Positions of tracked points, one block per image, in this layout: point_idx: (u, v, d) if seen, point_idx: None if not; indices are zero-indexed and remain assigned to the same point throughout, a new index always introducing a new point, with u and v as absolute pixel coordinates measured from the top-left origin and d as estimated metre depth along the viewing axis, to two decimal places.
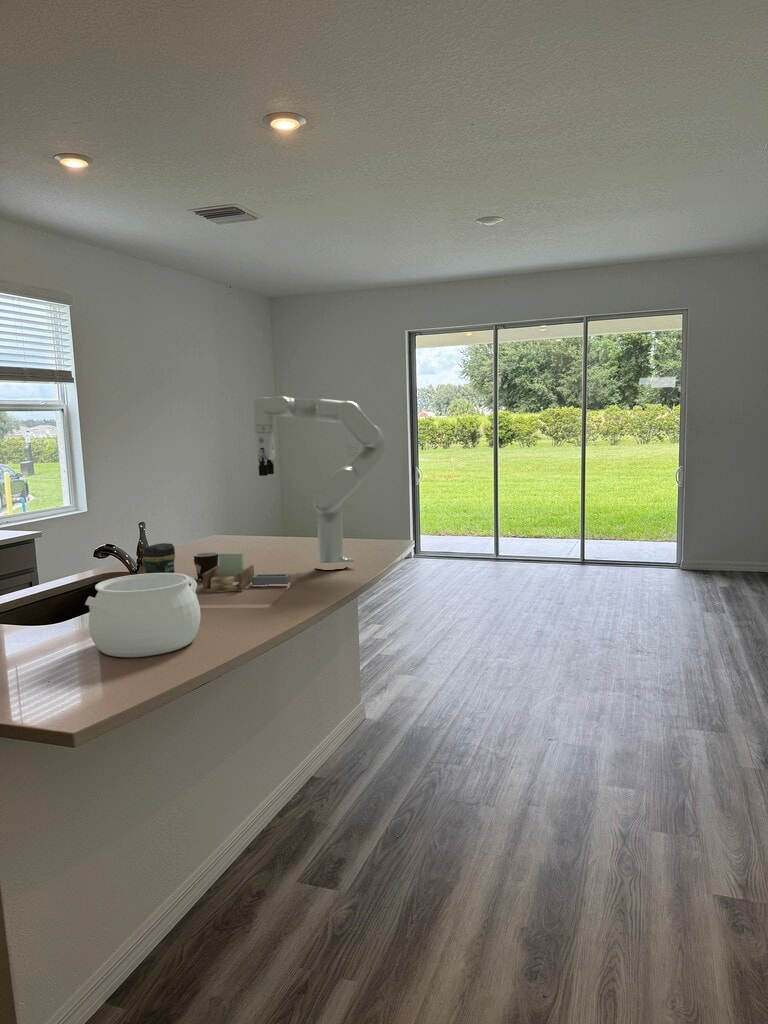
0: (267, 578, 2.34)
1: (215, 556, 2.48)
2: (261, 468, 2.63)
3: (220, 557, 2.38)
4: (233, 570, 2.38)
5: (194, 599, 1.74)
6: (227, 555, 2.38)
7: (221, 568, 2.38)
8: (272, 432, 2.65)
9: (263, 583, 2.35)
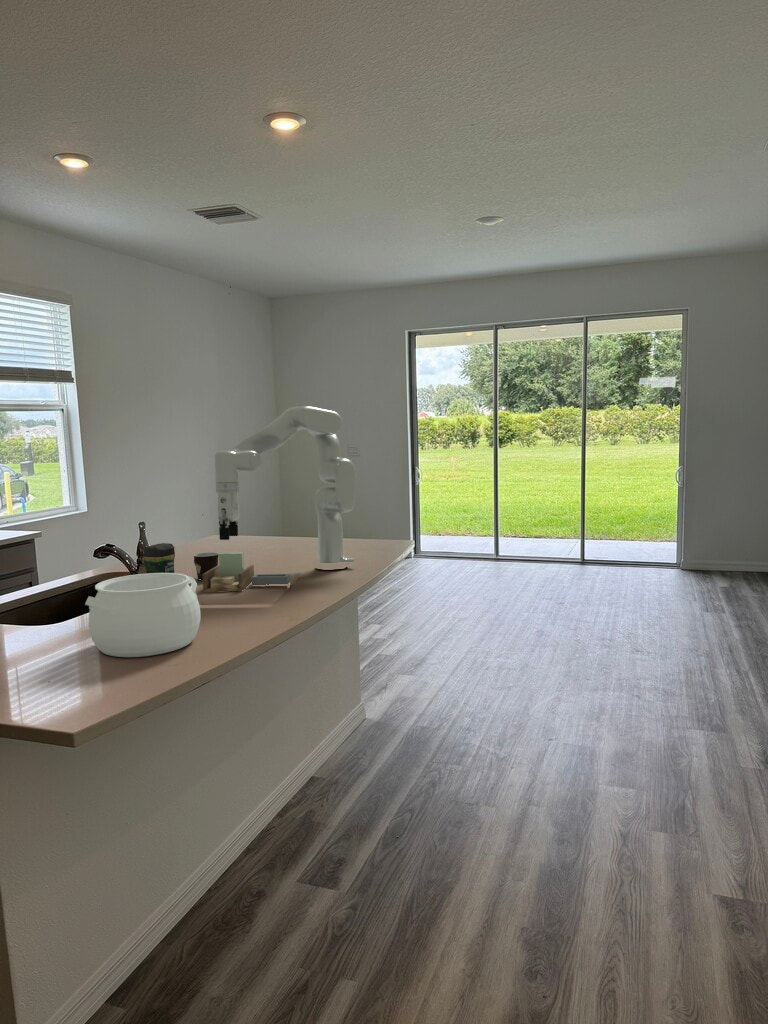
0: (267, 578, 2.34)
1: (215, 556, 2.48)
2: (222, 531, 2.32)
3: (220, 557, 2.38)
4: (233, 570, 2.38)
5: (194, 599, 1.74)
6: (227, 555, 2.38)
7: (221, 568, 2.38)
8: (235, 490, 2.34)
9: (263, 583, 2.35)
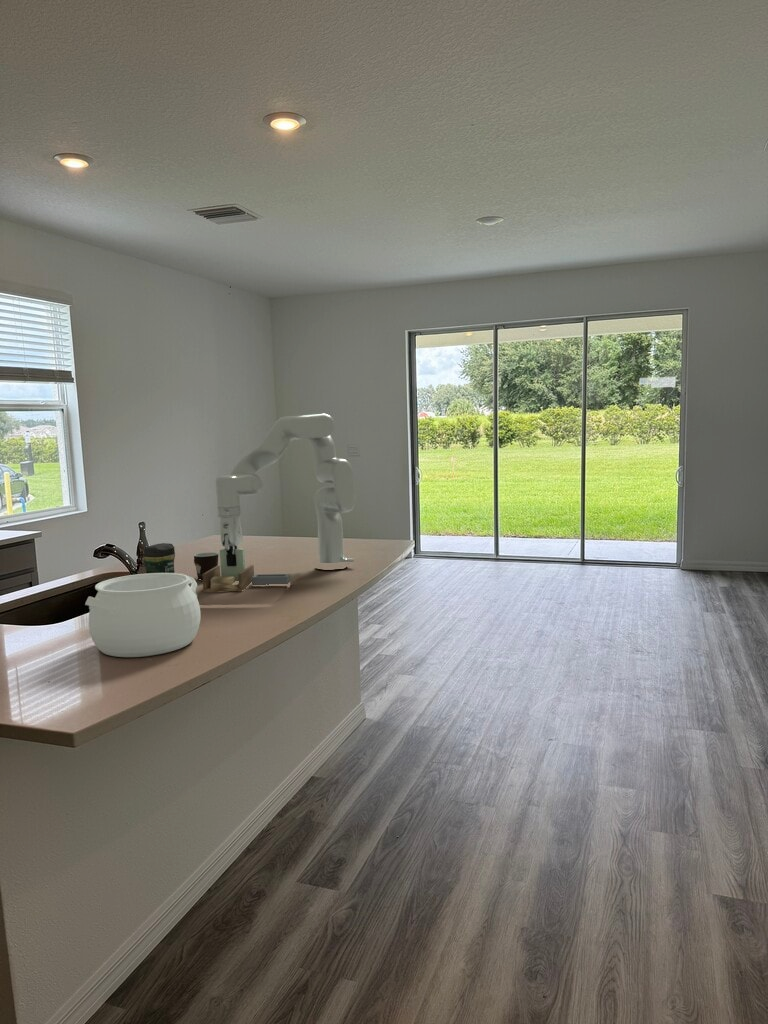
0: (267, 578, 2.34)
1: (215, 556, 2.48)
2: (229, 558, 2.37)
3: (221, 553, 2.38)
4: (234, 566, 2.38)
5: (194, 599, 1.74)
6: None
7: (222, 564, 2.39)
8: (237, 515, 2.36)
9: (263, 583, 2.35)
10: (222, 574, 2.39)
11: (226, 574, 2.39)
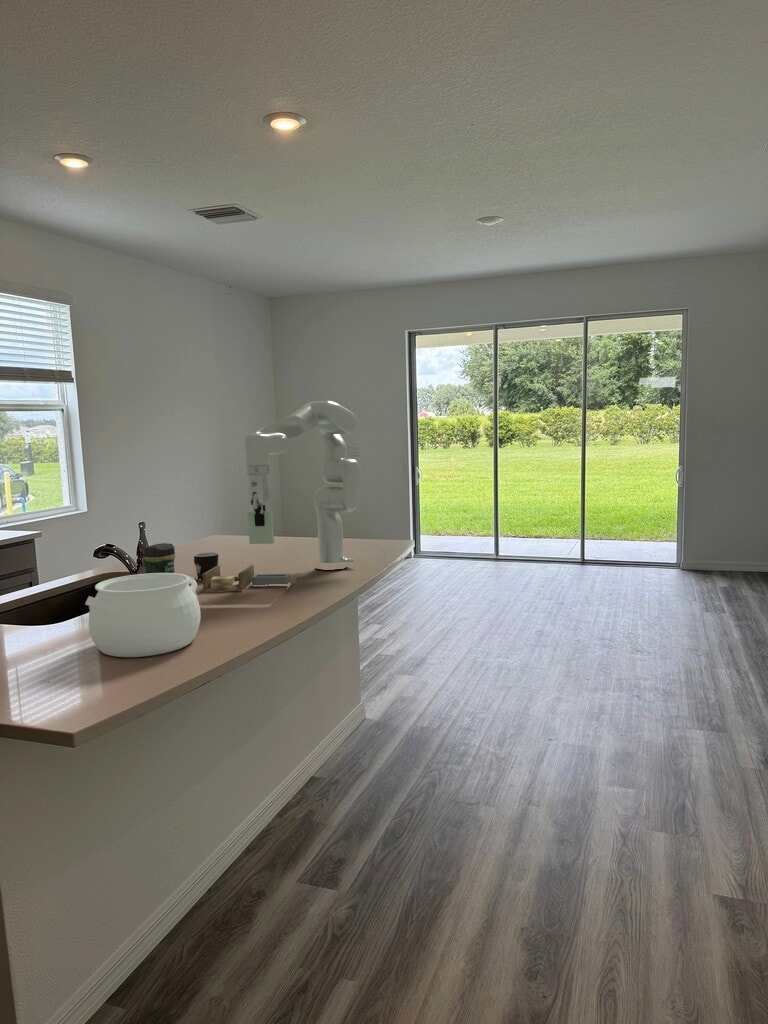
0: (267, 578, 2.34)
1: (215, 556, 2.48)
2: (257, 518, 2.33)
3: (249, 515, 2.35)
4: (262, 528, 2.35)
5: (194, 599, 1.74)
6: None
7: (250, 526, 2.35)
8: (266, 473, 2.32)
9: (263, 583, 2.35)
10: (250, 536, 2.36)
11: (254, 536, 2.35)
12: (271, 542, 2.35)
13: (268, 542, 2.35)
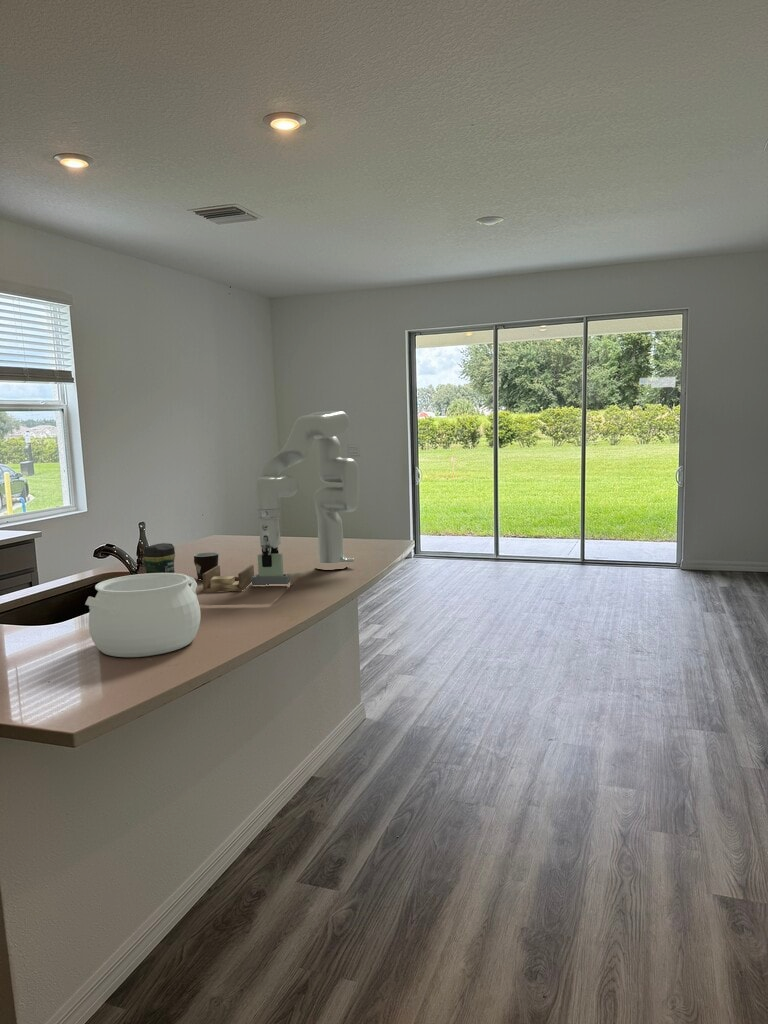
0: (267, 578, 2.34)
1: (215, 556, 2.48)
2: (264, 559, 2.30)
3: (259, 558, 2.35)
4: (272, 571, 2.35)
5: (194, 599, 1.74)
6: None
7: (260, 569, 2.36)
8: (277, 517, 2.33)
9: (263, 583, 2.35)
10: None
11: None
12: None
13: None
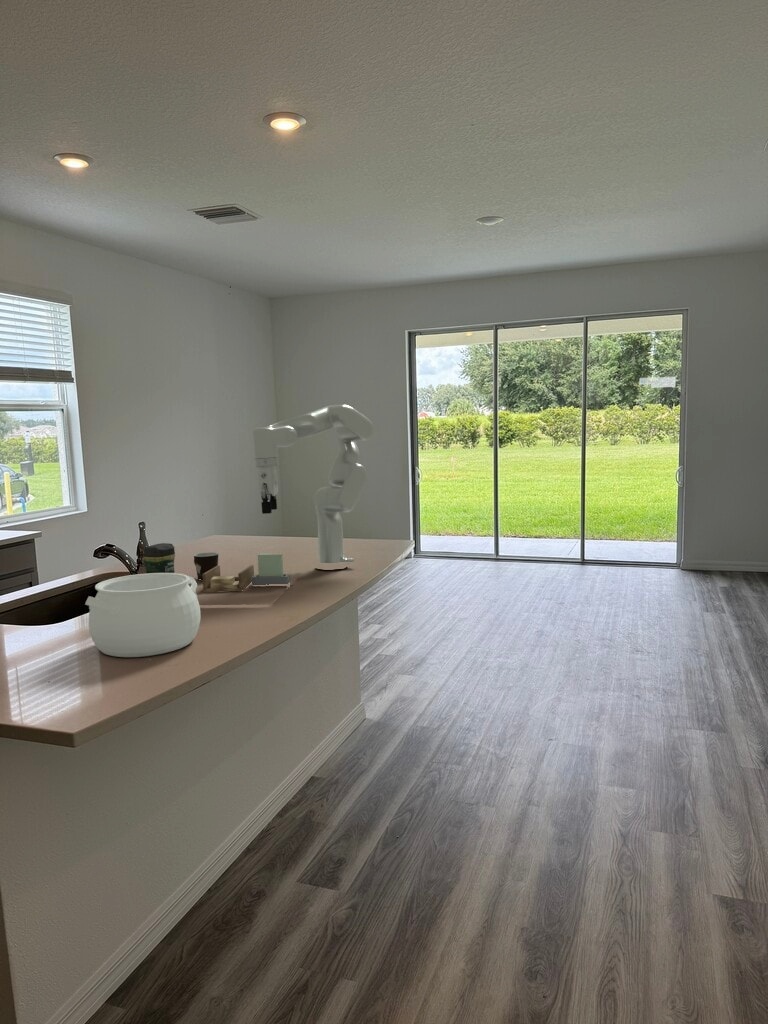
0: (267, 578, 2.34)
1: (215, 556, 2.48)
2: (264, 505, 2.40)
3: (259, 558, 2.35)
4: (272, 571, 2.35)
5: (194, 599, 1.74)
6: (266, 556, 2.35)
7: (260, 569, 2.36)
8: (275, 465, 2.42)
9: (263, 583, 2.35)
10: None
11: None
12: None
13: None
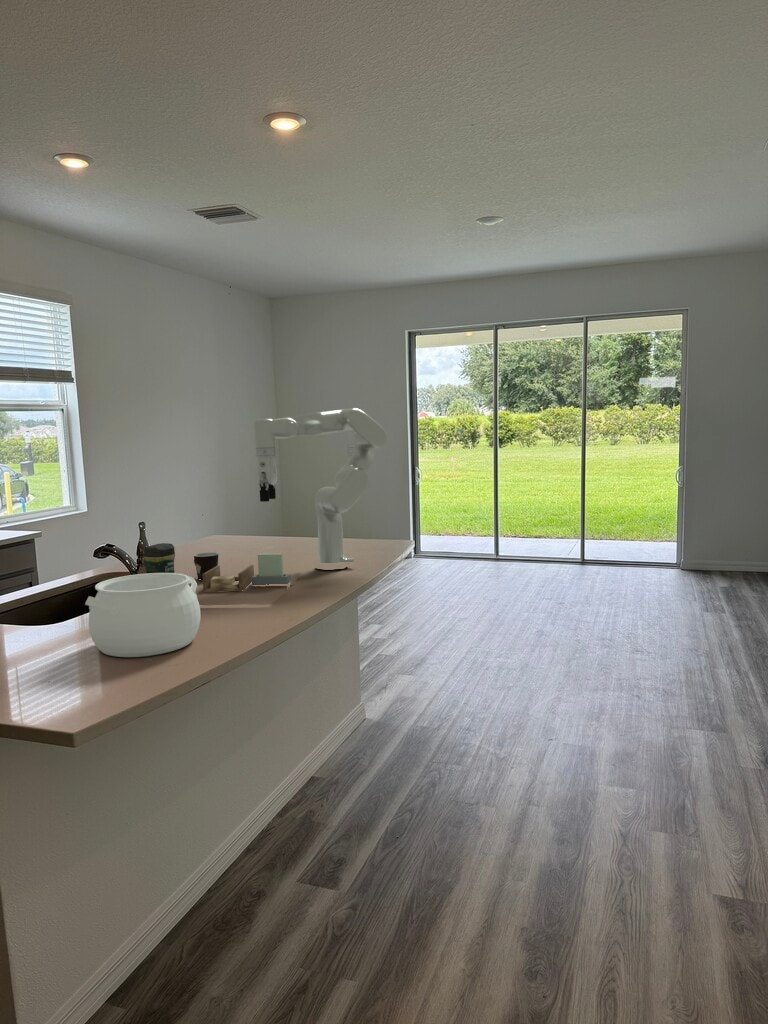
0: (267, 578, 2.34)
1: (215, 556, 2.48)
2: (262, 493, 2.48)
3: (259, 558, 2.35)
4: (272, 571, 2.35)
5: (194, 599, 1.74)
6: (266, 556, 2.35)
7: (260, 569, 2.36)
8: (274, 455, 2.51)
9: (263, 583, 2.35)
10: None
11: None
12: None
13: None
